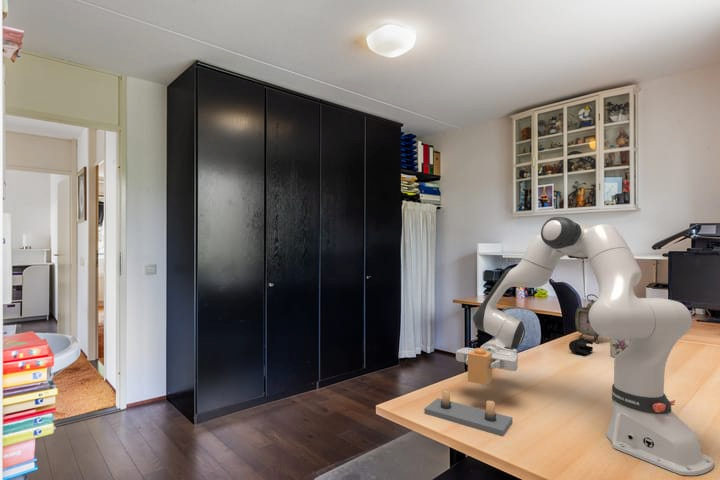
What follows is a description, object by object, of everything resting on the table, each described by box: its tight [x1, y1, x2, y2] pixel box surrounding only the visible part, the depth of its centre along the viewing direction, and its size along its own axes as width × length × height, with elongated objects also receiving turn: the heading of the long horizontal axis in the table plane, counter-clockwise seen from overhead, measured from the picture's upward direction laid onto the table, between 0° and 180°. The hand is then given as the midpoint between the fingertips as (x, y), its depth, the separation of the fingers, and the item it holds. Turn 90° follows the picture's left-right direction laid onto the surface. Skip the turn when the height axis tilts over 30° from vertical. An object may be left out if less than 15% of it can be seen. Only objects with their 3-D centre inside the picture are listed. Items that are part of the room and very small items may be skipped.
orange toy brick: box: [467, 347, 493, 386], centre depth 129 cm, size 6×6×10 cm
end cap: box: [568, 336, 594, 357], centre depth 189 cm, size 10×7×7 cm
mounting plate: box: [423, 389, 513, 437], centre depth 120 cm, size 24×10×6 cm, turn 54°
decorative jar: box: [609, 338, 631, 359], centre depth 180 cm, size 12×12×18 cm
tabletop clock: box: [574, 293, 601, 344], centre depth 212 cm, size 14×9×25 cm, turn 17°
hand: (479, 364), depth 128 cm, fingers closed on orange toy brick, 6 cm apart
